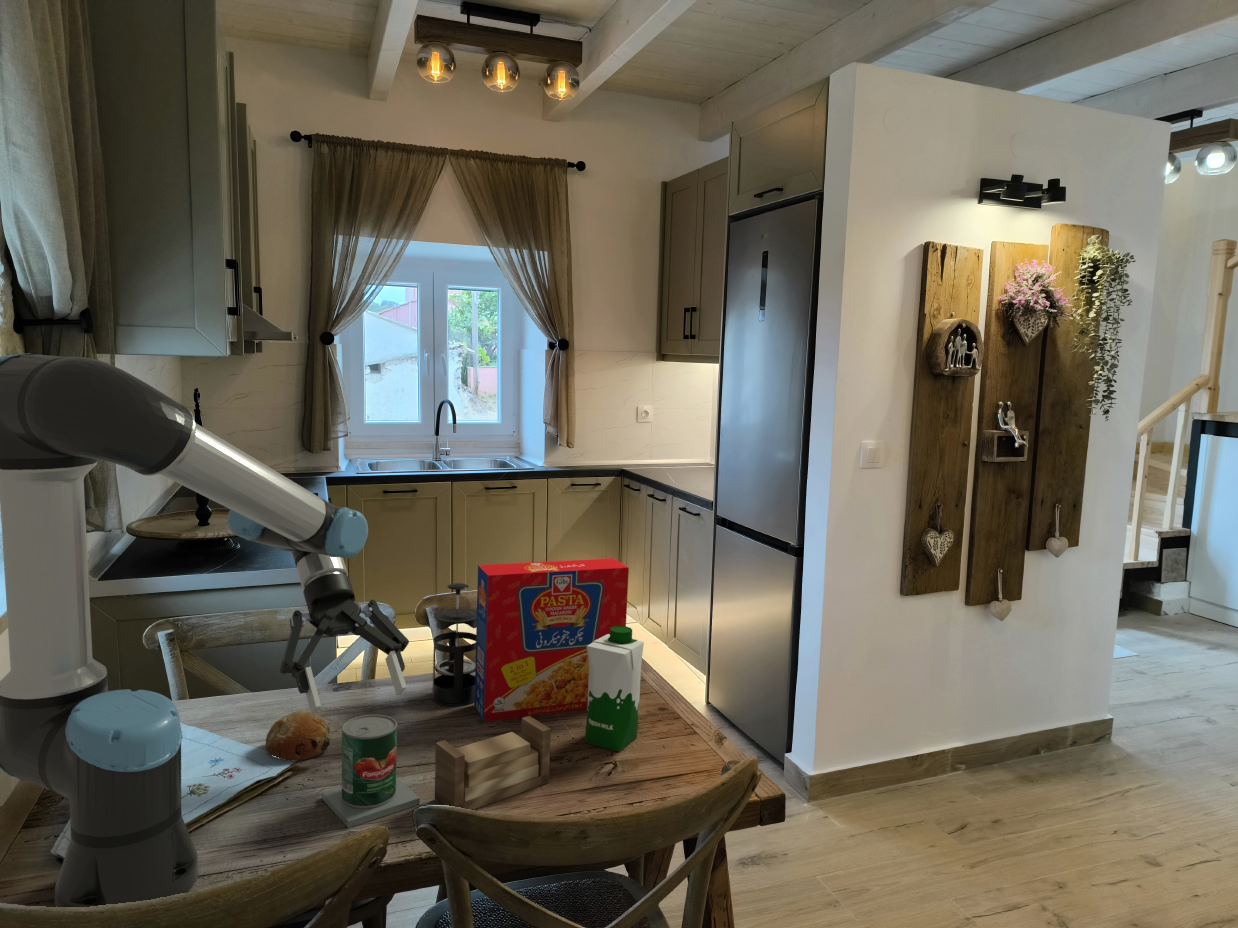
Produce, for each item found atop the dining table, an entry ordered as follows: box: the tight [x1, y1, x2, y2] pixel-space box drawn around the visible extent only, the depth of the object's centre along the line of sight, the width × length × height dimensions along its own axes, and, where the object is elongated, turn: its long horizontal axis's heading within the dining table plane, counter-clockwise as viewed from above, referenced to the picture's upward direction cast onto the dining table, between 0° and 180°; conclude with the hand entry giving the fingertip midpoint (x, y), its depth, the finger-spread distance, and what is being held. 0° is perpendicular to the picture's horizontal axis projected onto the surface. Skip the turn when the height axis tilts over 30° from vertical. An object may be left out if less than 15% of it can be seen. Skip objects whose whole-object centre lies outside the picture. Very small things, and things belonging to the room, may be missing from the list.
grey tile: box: [321, 776, 421, 829], centre depth 123 cm, size 11×10×1 cm
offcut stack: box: [455, 731, 539, 802], centre depth 128 cm, size 13×5×6 cm, turn 130°
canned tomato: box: [341, 714, 398, 809], centre depth 123 cm, size 8×8×11 cm
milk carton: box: [584, 625, 645, 753], centre depth 147 cm, size 9×9×20 cm
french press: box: [431, 582, 477, 707], centre depth 163 cm, size 12×9×23 cm
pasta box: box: [473, 557, 630, 723], centre depth 160 cm, size 28×8×28 cm, turn 113°
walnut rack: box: [434, 716, 552, 810], centre depth 128 cm, size 17×6×9 cm, turn 130°
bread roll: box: [265, 710, 333, 762], centre depth 139 cm, size 10×10×8 cm
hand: (360, 700), depth 127 cm, fingers open, 13 cm apart
